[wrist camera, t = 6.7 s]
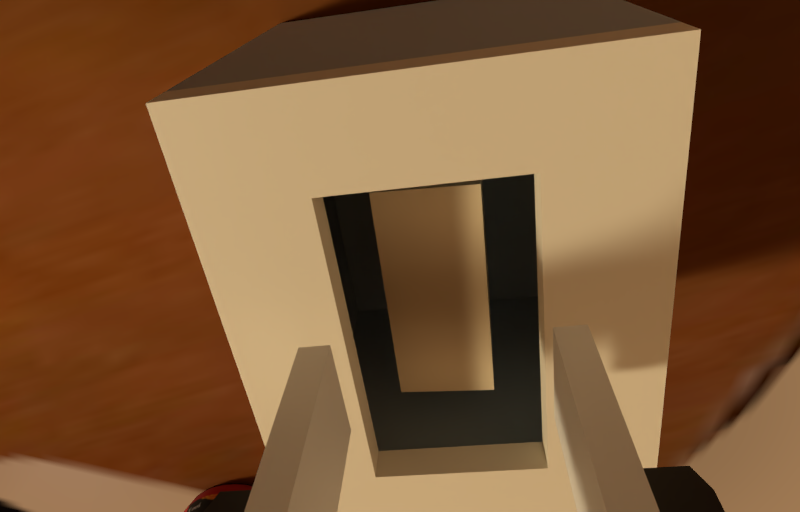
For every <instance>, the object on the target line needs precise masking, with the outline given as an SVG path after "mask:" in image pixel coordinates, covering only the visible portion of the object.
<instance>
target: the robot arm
mask: <svg viewBox="0 0 800 512" xmlns="http://www.w3.org/2000/svg"><path fill="white" fill-rule="evenodd" d="M553 361H554V418H555V422H556V426H557V430H558V434H559V439H560V443H561V447H562V451H563V455H564V459H565V463H566V468H567V472H568V476H569V480H570V484H571V488H572V492H573V496H574V501H575V505H576V509H577V512H724V510H723V508H722V505H721V503H720V502H719V499H718V497H717V495H716V493H715V491H714V490H713V489H712V488H711V487H710V486H709V485H708V484H707V483H706V482H705V481H704V480H703V479H702V478H701V477H700V476H699V475H698V474H697V473H696V472H695V471H694V470H693V469H692V468H691V467H690V466H678V467H659V468H643V467H642V464H641V461H640V459H639V456H638V454H637V451H636V448H635V446H634V443H633V441H632V438H631V435H630V433H629V430H628V428H627V425H626V422H625V420H624V417H623V415H622V412H621V409H620V407H619V404H618V402H617V399H616V396H615V394H614V391H613V389H612V386H611V383H610V381H609V378H608V375H607V373H606V370H605V368H604V365H603V362H602V360H601V357H600V355H599V352H598V349H597V347H596V344H595V342H594V339H593V336H592V334H591V331H590V329H589V326H588V325H575V326H563V327H553ZM350 434H351V428H350V424H349V420H348V416H347V412H346V408H345V404H344V399H343V395H342V391H341V387H340V383H339V379H338V375H337V371H336V367H335V363H334V359H333V355H332V351H331V347H330V345H324V346H311V347H299V348H298V350H297V353H296V356H295V360H294V363H293V366H292V369H291V372H290V375H289V378H288V381H287V384H286V387H285V390H284V393H283V396H282V399H281V402H280V405H279V408H278V411H277V414H276V417H275V420H274V423H273V426H272V429H271V432H270V435H269V438H268V441H267V444H266V447H265V450H264V453H263V456H262V459H261V462H260V465H259V468H258V471H257V474H256V477H255V480H254V483H253V486H252V489H251V490H240V491H221V492H219V493H218V495H217V496H216V497H215V498H214V499H213V501H212V502H211V503H210V504H209V506H208V507H207V508H206V509H205V510H204V512H337V510H338V504H339V499H340V493H341V487H342V481H343V475H344V469H345V463H346V458H347V452H348V446H349V440H350Z"/></svg>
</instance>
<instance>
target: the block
mask: <svg viewBox="0 0 800 512" xmlns="http://www.w3.org/2000/svg"><path fill="white" fill-rule="evenodd" d="M369 197H370V203H371V209H372V215H373V221H374V227H375V234H376V240H377V246H378V252H379V258H380V264H381V271H382V277H383V283H384V289H385V295H386V301H387V308H388V314H389V320H390V326H391V332H392V338H393V345H394V351H395V357H396V363H397V369H398V375H399V382H400V388H401V392H429V391H468V390H494V374H493V355H492V335H491V315H490V296H489V277H488V261H487V246H486V230H485V215H484V199H483V184H482V180H473V181H464V182H455V183H446V184H437V185H428V186H419V187H409V188H400V189H391V190H382V191H373V192H369Z"/></svg>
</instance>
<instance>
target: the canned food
mask: <svg viewBox="0 0 800 512" xmlns="http://www.w3.org/2000/svg"><path fill="white" fill-rule="evenodd" d="M251 489H252V486H249V485H241V484H230V485H221V486H217V487H213V488H210V489H208V490H206V491H204V492H202V493H201V494H200V495H198V496H197V497H196V498H195V499H194V500H193V502H192V503H191V504H190V505H189V506H188V508H187V509H186V510H185V511H184V512H204V510H205V509H206V508H207V507H208V506H209V504H210V503H211V502H212V501H213V499H214V498H215V497H216V496H217V495H218V493H219V492H221V491H240V490H251Z"/></svg>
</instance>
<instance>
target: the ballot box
mask: <svg viewBox="0 0 800 512" xmlns="http://www.w3.org/2000/svg"><path fill="white" fill-rule="evenodd" d="M700 36H701V29H699V28H696V27H694V26H691V25H688V24H686V23H683V22H680V21H678V20H675V19H672V18H670V17H667V16H664V15H662V14H659V13H656V12H654V11H651V10H648V9H645V8H643V7H640V6H637V5H635V4H632V3H629V2H627V1H624V0H436V1H429V2H422V3H415V4H408V5H402V6H395V7H388V8H381V9H374V10H367V11H360V12H354V13H347V14H340V15H333V16H326V17H319V18H312V19H306V20H299V21H292V22H285V23H280V24H278V25H277V26H275V27H273V28H271V29H270V30H268V31H266V32H265V33H263V34H261V35H260V36H258V37H256V38H255V39H253V40H251V41H250V42H248V43H246V44H245V45H243V46H241V47H240V48H238V49H236V50H234V51H233V52H231V53H229V54H228V55H226V56H224V57H223V58H221V59H219V60H218V61H216V62H214V63H213V64H211V65H209V66H208V67H206V68H204V69H203V70H201V71H199V72H197V73H196V74H194V75H192V76H191V77H189V78H187V79H186V80H184V81H182V82H181V83H179V84H177V85H176V86H174V87H172V88H171V89H169V90H167V91H166V92H164V93H162V94H160V95H159V96H157V97H155V98H154V99H152V100H150V101H149V102H147V103H146V106H147V108H148V111H149V114H150V117H151V120H152V123H153V126H154V129H155V131H156V134H157V137H158V140H159V143H160V146H161V149H162V152H163V154H164V157H165V160H166V163H167V166H168V169H169V172H170V175H171V177H172V180H173V183H174V186H175V189H176V192H177V195H178V198H179V200H180V203H181V206H182V209H183V212H184V215H185V218H186V221H187V223H188V226H189V229H190V232H191V235H192V238H193V241H194V244H195V246H196V249H197V252H198V255H199V258H200V261H201V264H202V266H203V269H204V272H205V275H206V278H207V281H208V284H209V287H210V289H211V292H212V295H213V298H214V301H215V304H216V307H217V310H218V312H219V315H220V318H221V321H222V324H223V327H224V330H225V333H226V335H227V338H228V341H229V344H230V347H231V350H232V353H233V356H234V358H235V361H236V364H237V367H238V370H239V373H240V376H241V379H242V381H243V384H244V387H245V390H246V393H247V396H248V399H249V402H250V404H251V407H252V410H253V413H254V416H255V419H256V422H257V425H258V427H259V430H260V433H261V436H262V439H263V442H264V445H265V447H266V444H267V441H268V438H269V435H270V432H271V429H272V426H273V423H274V420H275V417H276V414H277V411H278V408H279V405H280V402H281V399H282V396H283V393H284V390H285V387H286V384H287V381H288V378H289V375H290V372H291V369H292V366H293V363H294V360H295V356H296V353H297V350H298V348H299V347H311V346H324V345H330V347H331V351H332V355H333V359H334V363H335V367H336V371H337V375H338V379H339V383H340V387H341V391H342V395H343V399H344V404H345V408H346V412H347V416H348V420H349V424H350V428H351V434H350V440H349V446H348V452H347V458H346V463H345V469H344V475H343V481H342V487H341V493H340V499H339V504H338V510H337V512H577V509H576V505H575V501H574V496H573V492H572V488H571V484H570V480H569V476H568V472H567V468H566V463H565V459H564V455H563V451H562V447H561V443H560V439H559V434H558V430H557V426H556V422H555V418H554V361H553V327H563V326H575V325H588V326H589V329H590V331H591V334H592V336H593V339H594V342H595V344H596V347H597V349H598V352H599V355H600V357H601V360H602V362H603V365H604V368H605V370H606V373H607V375H608V378H609V381H610V383H611V386H612V389H613V391H614V394H615V396H616V399H617V402H618V404H619V407H620V409H621V412H622V415H623V417H624V420H625V422H626V425H627V428H628V430H629V433H630V435H631V438H632V441H633V443H634V446H635V448H636V451H637V454H638V456H639V459H640V461H641V464H642V467H643V468H657V461H658V452H659V442H660V432H661V422H662V412H663V402H664V392H665V382H666V372H667V362H668V353H669V343H670V333H671V323H672V313H673V303H674V293H675V283H676V273H677V263H678V254H679V244H680V234H681V224H682V214H683V204H684V194H685V184H686V174H687V164H688V155H689V145H690V135H691V125H692V115H693V105H694V95H695V85H696V75H697V66H698V56H699V46H700ZM473 180H482V184H483V199H484V215H485V230H486V246H487V261H488V277H489V296H490V315H491V335H492V355H493V374H494V390H468V391H429V392H401V388H400V382H399V375H398V369H397V363H396V357H395V351H394V345H393V338H392V332H391V326H390V320H389V314H388V308H387V301H386V295H385V289H384V283H383V277H382V271H381V264H380V258H379V252H378V246H377V240H376V234H375V227H374V221H373V215H372V209H371V203H370V197H369V192H373V191H382V190H391V189H400V188H409V187H419V186H428V185H437V184H446V183H455V182H464V181H473Z"/></svg>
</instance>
